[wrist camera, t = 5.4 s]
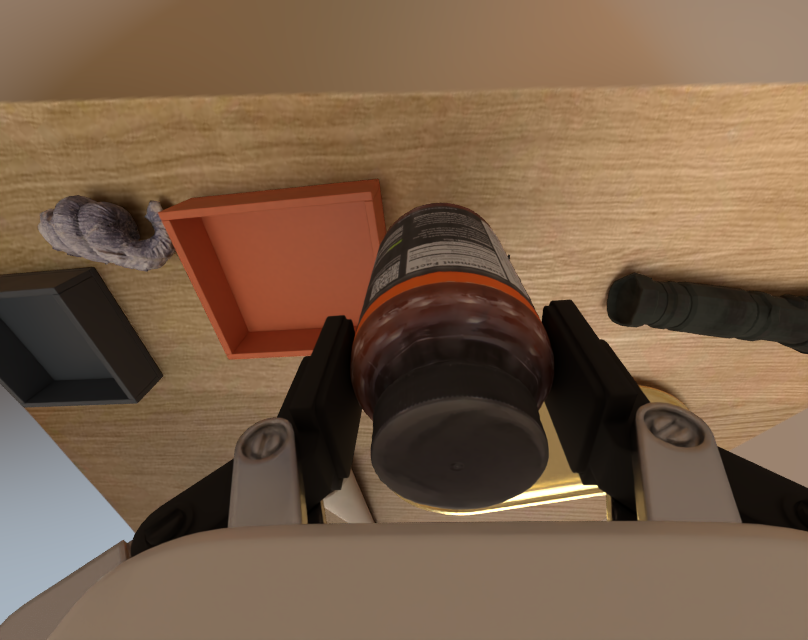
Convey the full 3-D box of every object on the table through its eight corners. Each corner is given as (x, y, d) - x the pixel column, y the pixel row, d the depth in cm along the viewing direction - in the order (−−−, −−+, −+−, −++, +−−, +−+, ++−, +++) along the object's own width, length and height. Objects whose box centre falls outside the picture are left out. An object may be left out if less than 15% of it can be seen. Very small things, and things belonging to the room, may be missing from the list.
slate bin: (-31, 277, 33) (-85, 298, 29) (94, 267, 31) (53, 287, 28) (58, 381, 40) (23, 407, 36) (163, 376, 39) (137, 403, 35)
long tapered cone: (406, 557, 50) (341, 499, 39) (367, 556, 52) (295, 500, 41) (410, 514, 54) (354, 451, 43) (374, 515, 56) (311, 455, 45)
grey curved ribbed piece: (193, 215, 30) (85, 214, 30) (141, 185, 24) (12, 185, 25) (187, 276, 29) (77, 274, 30) (132, 260, 24) (1, 257, 25)
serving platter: (684, 469, 42) (693, 481, 41) (415, 512, 51) (415, 523, 49) (688, 354, 33) (699, 365, 32) (359, 431, 42) (357, 442, 40)
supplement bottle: (471, 322, 19) (518, 550, 10) (366, 294, 18) (307, 509, 9) (522, 219, 16) (665, 413, 6) (396, 180, 15) (351, 332, 6)
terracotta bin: (190, 197, 28) (157, 212, 24) (379, 178, 26) (371, 191, 23) (248, 333, 35) (228, 359, 31) (399, 325, 33) (395, 351, 30)
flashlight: (823, 338, 31) (884, 376, 27) (596, 309, 31) (623, 343, 27) (869, 290, 28) (946, 323, 24) (621, 257, 28) (656, 286, 24)
